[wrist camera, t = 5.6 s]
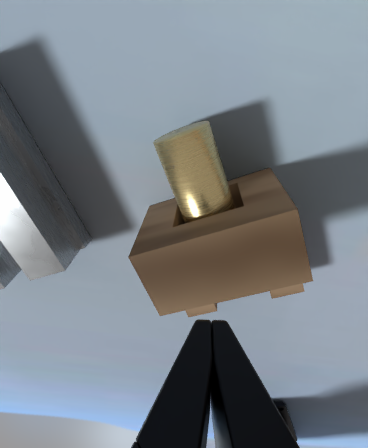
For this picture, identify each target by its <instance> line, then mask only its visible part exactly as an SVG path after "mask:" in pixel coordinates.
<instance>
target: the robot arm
mask: <svg viewBox="0 0 368 448" xmlns="http://www.w3.org/2000/svg"><path fill="white" fill-rule="evenodd" d="M210 400H211V411H212V421H213V429H214V438H215V446H216V448H300V447H299V446H298V444H297V442H296V441H297V437H296V433H295V430H294V427H293V425H292V422H291V419H290V416H289V413H288V410H287V407H286V404H285V403H284V402H275V403H274V402H273V400H272V399H271V397H270V395H269V393H268V392H267V390H266V388H265V387H264V385H263V383H262V381H261V380H260V378H259V376H258V374H257V373H256V371H255V369H254V367H253V366H252V364H251V362H250V360H249V359H248V357H247V355H246V354H245V352H244V350H243V348H242V347H241V345H240V343H239V341H238V340H237V338H236V336H235V334H234V333H233V331H232V329H231V327H230V326H229V324H228V323H227V321H224V320H213V321H212V322H211V321H210V320H196V321H195V323H194V325H193V327H192V329H191V331H190V333H189V335H188V337H187V339H186V341H185V343H184V345H183V347H182V348H181V350H180V352H179V354H178V356H177V358H176V360H175V362H174V364H173V366H172V368H171V370H170V372H169V374H168V376H167V378H166V380H165V382H164V384H163V386H162V388H161V390H160V392H159V394H158V396H157V398H156V400H155V402H154V404H153V406H152V408H151V410H150V412H149V414H148V416H147V418H146V420H145V422H144V424H143V426H142V428H141V430H140V432H139V434H138V436H137V438H136V442H134V443H133V445H132V447H131V448H206V444H207V434H208V424H209V415H210Z"/></svg>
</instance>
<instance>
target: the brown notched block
mask: <svg viewBox="0 0 368 448" xmlns="http://www.w3.org/2000/svg"><path fill="white" fill-rule="evenodd" d="M227 182H228V185H229V188H230V192H231V195H232V198H233V201H234V205H235V208H236V209H233V210H229V211H226V212H223V213H219V214H216V215H213V216H209V217H206V218H203V219H199V220H196V221H192V222H189V223H185V221H184V218H183V216H182V213H181V211H180V208H179V206H178V204H177V201H176V199H175V198H173V199H170V200H167V201H164V202H161V203H158V204H155V205H152V206H149V209H148V211H147V214H146V216H145V218H144V221H143V223H142V226H141V228H140V230H139V233H138V235H137V238H136V240H135V243H134V245H133V247H132V250H131V252H130V255H129V259H130V261H131V263H132V265H133V267H134V268H135V270H136V272H137V274H138V276H139V278H140V280H141V282H142V283H143V285H144V287H145V289H146V291H147V293H148V295H149V296H150V298H151V300H152V302H153V304H154V306H155V308H156V310H157V311H158V313H159V315H160V316H162V315H167V314H171V313H175V312H180V311H184V310H185V311H186V313H187V315H188V317H192V316H197V315H201V314H206V313H210V312H215V311H217V303H219V302H223V301H228V300H232V299H236V298H241V297H245V296H249V295H254V294H258V293H263V292H267V291H270V294H271V297H272V299H273V298H277V297H282V296H286V295H291V294H295V293H300V292H304V288H303V283H306V282H310V281H313V279H312V274H311V269H310V265H309V260H308V255H307V251H306V246H305V241H304V236H303V232H302V227H301V222H300V218H299V213H298V209H297V207H296V206H295V204H294V203H293V201H292V200H291V198H290V197H289V195H288V194H287V192H286V191H285V189H284V188H283V186H282V185H281V183H280V182H279V180H278V179H277V177H276V176H275V174H274V173H273V171H272V170H271V168H267V169H264V170H261V171H258V172H255V173H251V174H248V175H245V176H242V177H239V178H236V179H233V180H230V181H227Z"/></svg>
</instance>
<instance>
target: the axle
mask: <svg viewBox="0 0 368 448" xmlns="http://www.w3.org/2000/svg"><path fill="white" fill-rule="evenodd" d="M153 144H154V146H155V149H156V151H157V154H158V156H159V159H160V161H161V164H162V166H163V169H164V171H165V174H166V176H167V179H168V181H169V184H170V186H171V189H172V191H173V194H174V196H175V199H176V201H177V204H178V206H179V208H180V211H181V213H182V216H183V218H184V221H185V223H189V222H192V221H196V220H199V219H203V218H206V217H209V216H213V215H216V214H219V213H223V212H226V211H229V210H233V209H236V208H235V205H234V201H233V198H232V195H231V192H230V188H229V185H228V182H227V179H226V175H225V172H224V169H223V166H222V162H221V159H220V156H219V153H218V149H217V146H216V143H215V140H214V136H213V133H212V130H211V127H210V123H209V121H201V122H197V123H193V124H190V125H187V126H184V127H181V128H179V129H176V130H174V131H171V132H169V133H167V134H165V135H163V136H161V137H159V138H158V139H156V140H155V141H154V142H153Z"/></svg>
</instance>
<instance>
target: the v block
mask: <svg viewBox="0 0 368 448" xmlns="http://www.w3.org/2000/svg"><path fill="white" fill-rule="evenodd" d="M90 240H91V237H90V235H89V234H88V232H87V230H86V229H85V227H84V225H83V223H82V222H81V220H80V218H79V217H78V215H77V213H76V211H75V210H74V208H73V206H72V205H71V203H70V201H69V199H68V198H67V196H66V194H65V193H64V191H63V189H62V187H61V186H60V184H59V182H58V181H57V179H56V177H55V175H54V174H53V172H52V170H51V169H50V167H49V165H48V163H47V162H46V160H45V158H44V157H43V155H42V153H41V151H40V150H39V148H38V146H37V145H36V143H35V141H34V139H33V138H32V136H31V134H30V133H29V131H28V129H27V127H26V126H25V124H24V122H23V121H22V119H21V117H20V115H19V114H18V112H17V110H16V109H15V107H14V105H13V103H12V102H11V100H10V98H9V97H8V95H7V93H6V91H5V90H4V88H3V86H2V85H1V83H0V289H3V288H5V287H6V286H7V285H8V284H9V283H10V282H11V281H12V279H13V278H14V277H15V276H16V275H17V274H18V273H19V272H20V271H21V270H23V272H24V273H25V274H26V276H27V277H28V278H29V280H30V281H31V280H34V279H38V278H41V277H44V276H48V275H51V274H55V273H58V272H62V271H65V270H66V269H67V267H68V266H69V265H70V263H71V262H72V260H73V259H74V257H75V256H76V255H77V253H78V252H79V250H80V249H83V248H85V247H86V246H87V244H88V243H89V242H90Z"/></svg>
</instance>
